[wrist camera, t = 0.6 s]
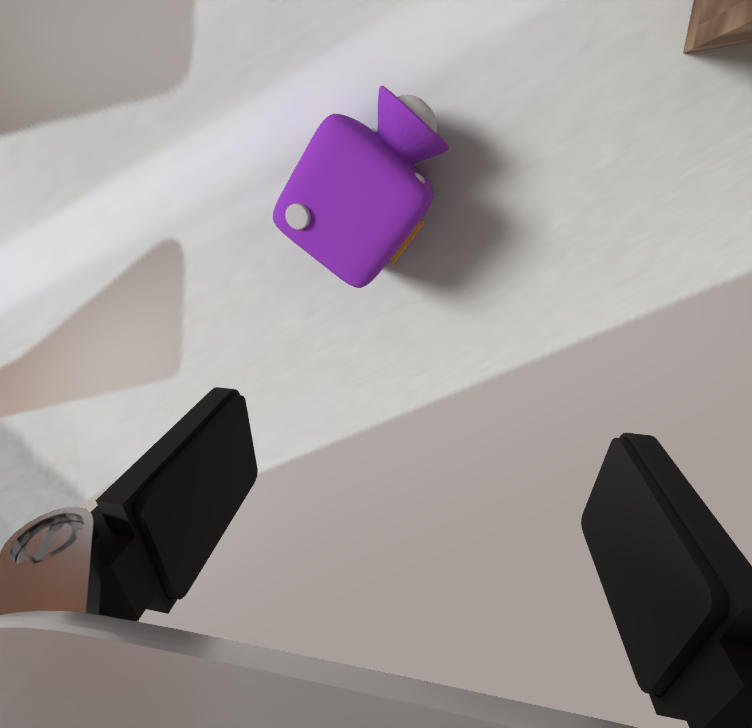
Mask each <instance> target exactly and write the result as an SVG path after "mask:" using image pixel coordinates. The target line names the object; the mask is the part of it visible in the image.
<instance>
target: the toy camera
mask: <svg viewBox="0 0 752 728" xmlns="http://www.w3.org/2000/svg"><path fill="white" fill-rule="evenodd" d="M448 149H449V146H448V145H447V144H446V142H445V141H444V140H443V139H442V138H440V137H439V136H438V135H437V122H436V118H435V115H434V113H433V112H432V110H431V108H430V107H429V106H428V105H427V104H426V103H425V102H424V101H423V100H421V99H419V98H417V97H415V96H412V95H402V96H399V97H396V96H395V95H394V94H393V93H392V92H390V91H389V90H388V89H387V88H385V87H384V86H380V89H379V96H378V132H377V134H376V133H375V132H373V131H372V130H371V129H370V128H368V127H367V126H365V125H364V124H362V123H361V122H359V121H357V120H355V119H353V118H350V117H348V116H345V115H341V114H332V115H330V116H328V117H327V118H326V119H325V120H324V121H323V122H322V123H321V124H320V126H319V127H318V129H317V131H316V132H315V134H314V136H313V137H312V139H311V141H310V143H309V145H308V146H307V148H306V150H305V152H304V154H303V155H302V157H301V159H300V161H299V162H298V164H297V166H296V168H295V170H294V171H293V173H292V175H291V177H290V179H289V180H288V182H287V184H286V186H285V188H284V190H283V192H282V194H281V195H280V197H279V199H278V201H277V203H276V206H275V209H274V212H273V220H274V223H275V224H276V226H277V227H278V228H279V229H280V231H282V232H283V233H284V234H285V235H286V236H287V237H288V238H290V239H291V240H292V241H293V242H294V243H296V244H297V245H298V246H300V247H301V248H302V249H303V250H305V251H306V252H307V253H308V254H310V255H311V256H312V257H313V258H315V259H316V260H317V261H319V262H320V263H321V264H322V265H324V266H325V267H326V268H327V269H329V270H330V271H331V272H332V273H334V274H335V275H336V276H338V277H339V278H340V279H342V280H343V281H344V282H346V283H347V284H349V285H351V286H353V287H357V288H361V287H364V286H366V285H367V284H369V283H370V282H371V281H372V280H373V279H374V278H375V277H376V276H377V275H378V274H379V273H380V271H381V270H382V269H383V268H384V266H385V265H386V264H387V263H388V261H389V260H390V261H391V262H392V263H395V262H396V261H397V259H398V258H399V257H400V255H401V254H402V253H403V251H404V250H405V249H406V247H407V246H408V245H409V243H410V242H411V241H412V240H413V238H414V237H415V236H416V234H417V233H418V232H419V230H420V229H421V228H422V226H423V225H424V223H425V222H424V221H423V220H422V219H421V218H422V217H423V216H424V214H425V213H426V211H427V209H428V207H429V205H430V203H431V201H432V198H433V189H432V186H431V184H430V183H429V181H428V180H427V179H426V178H425V177H424V176H423V175H422V174H421V173H420V172H419V171H418V170H417V169H416V168H414V167H413V166H412V164H414V163H416V162H418V161H421V160H424V159H427V158H430V157H433V156H436V155H438V154H441V153H443V152H445V151H447V150H448Z"/></svg>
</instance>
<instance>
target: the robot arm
mask: <svg viewBox="0 0 752 728" xmlns="http://www.w3.org/2000/svg"><path fill="white" fill-rule="evenodd" d="M256 478H257V464H256V458H255V452H254V447H253V441H252V435H251V430H250V424H249V418H248V412H247V407H246V401H245V398H244V396H242V395H240V393H239V392H238V390H236V389H227V388H218V387H217V388H214V389H212V390H211V391H210V392H209V393H208V394H207V395H206V396H205V397H204V398H203V399H202V400H200V401H199V402H198V403H197V404H196V405H195V406H194V407H193V408H192V409H191V410H190V411H189V412H188V413H187V414H186V415H185V416H184V417H183V418H182V419H181V420H179V421H178V422H177V423H176V424H175V425H174V426H173V427H172V428H171V429H170V430H169V431H168V432H167V433H166V434H165V435H164V436H163V437H162V438H161V439H160V440H159V441H157V442H156V443H155V444H154V445H153V446H152V447H151V448H150V449H149V450H148V451H147V452H146V453H145V454H144V455H143V456H142V457H141V458H140V459H139V460H138V461H136V462H135V463H134V464H133V465H132V466H131V467H130V468H129V469H128V470H127V471H126V472H125V473H124V474H123V475H122V476H121V477H120V478H119V479H118V480H117V481H116V482H114V483H113V484H112V485H111V486H110V487H109V488H108V489H107V490H106V491H105V492H104V493H103V494H102V495H101V496H100V497H99V498H98V499H97V500H96V502H97V504H98V506H97V507H96V508H95V509H94V510H93V511H92V512H89V511H88V510H87V509H83V508H80V507H66V508H62V509H58V510H54V511H51V512H49V513H46V514H44V515H41V516H39V517H37V518H36V519H34V520H32V521H30V522H29V523H27V524H25V525H24V526H23V527H22V528H20V529H19V530H18V531H16V532H15V533H14V534H13V535H12V536H11V537H10V538H9V539H8V541H7V542H6V543H5V544H4V546H3V548H2V550H1V552H0V728H636V727H633V726H628V725H624V724H620V723H616V722H611V721H607V720H602V719H597V718H593V717H588V716H584V715H579V714H575V713H570V712H565V711H561V710H556V709H551V708H547V707H542V706H537V705H533V704H528V703H524V702H520V701H515V700H510V699H506V698H501V697H497V696H492V695H487V694H483V693H478V692H474V691H468V690H464V689H459V688H455V687H450V686H446V685H441V684H436V683H431V682H427V681H422V680H418V679H413V678H408V677H403V676H399V675H394V674H389V673H385V672H380V671H375V670H370V669H365V668H360V667H356V666H352V665H347V664H342V663H337V662H332V661H328V660H323V659H318V658H313V657H309V656H304V655H300V654H295V653H289V652H285V651H280V650H275V649H270V648H265V647H261V646H256V645H251V644H246V643H241V642H237V641H232V640H227V639H222V638H217V637H212V636H208V635H202V634H198V633H193V632H188V631H183V630H178V629H173V628H168V627H162V626H157V625H152V624H146V623H140V622H139V618H140V617H141V615H142V614H143V613H144V611H145V610H146V609H149V610H154V611H159V612H163V613H169V612H170V610H171V608H172V607H173V605H174V604H175V602H176V601H177V599H182V598H183V597H184V596H185V595H186V594H187V592H188V591H189V589H190V587H191V586H192V584H193V582H194V581H195V579H196V578H197V576H198V575H199V573H200V571H201V569H202V568H203V566H204V565H205V563H206V561H207V560H208V558H209V557H210V555H211V553H212V551H213V550H214V548H215V547H216V545H217V543H218V542H219V540H220V539H221V537H222V535H223V534H224V532H225V530H226V529H227V527H228V525H229V524H230V522H231V520H232V519H233V517H234V515H235V514H236V512H237V511H238V509H239V507H240V506H241V504H242V502H243V501H244V499H245V498H246V496H247V494H248V493H249V491H250V489H251V487H252V486H253V484H254V483H255V481H256ZM581 524H582V530H583V533H584V536H585V539H586V542H587V545H588V547H589V550H590V553H591V556H592V559H593V561H594V564H595V567H596V570H597V572H598V575H599V578H600V581H601V583H602V586H603V589H604V592H605V595H606V597H607V600H608V603H609V605H610V608H611V611H612V614H613V616H614V619H615V622H616V625H617V628H618V631H619V633H620V636H621V639H622V641H623V644H624V647H625V650H626V653H627V655H628V658H629V661H630V664H631V666H632V669H633V672H634V675H635V678H636V680H637V683H638V685H639V687H640V688H641V690H642V691H643V692H645V693H649V695H650V698H651V701H652V703H653V706H654V709H655V711H656V714H657V715H661V716H666V717H671V718H676V719H680V720H685V721H687V723H688V725H689V727H690V728H752V566H751V565H750V563H749V562H748V561H747V559H746V558H745V557H744V555H743V554H742V553H741V551H740V550H739V549H738V547H737V546H736V545H735V543H734V542H733V541H732V540H731V538H730V537H729V535H728V534H727V533H726V531H725V530H724V529H723V527H722V526H721V525H720V523H719V522H718V521H717V519H716V518H715V516H714V515H713V514H712V512H711V511H710V510H709V509H708V507H707V506H706V505H705V503H704V502H703V500H702V499H701V498H700V496H699V495H698V494H697V493H696V491H695V490H694V488H693V487H692V486H691V485H690V483H689V482H688V480H687V479H686V478H685V476H684V475H683V474H682V473H681V471H680V470H679V468H678V467H677V466H676V464H675V463H674V462H673V460H672V459H671V458H670V456H669V455H668V454H667V452H666V451H665V450H664V448H663V447H662V446H661V444H660V443H659V442H658V440H657V439H656V438H655V437H653V436H650V435H642V434H633V433H623V434H622V435H621V436H620V438H614V439H613V440H612V441H611V444H610V446H609V449H608V451H607V454H606V456H605V459H604V462H603V464H602V467H601V469H600V471H599V474H598V477H597V479H596V482H595V484H594V487H593V489H592V492H591V494H590V497H589V500H588V502H587V504H586V507H585V509H584V512H583V515H582V521H581Z"/></svg>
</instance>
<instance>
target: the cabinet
mask: <svg viewBox="0 0 752 728" xmlns="http://www.w3.org/2000/svg"><path fill="white" fill-rule="evenodd" d="M748 42H752V0H694V3H693V8H692V13H691V18H690V23H689V28H688V33H687V38H686V43H685V48H684V53H687V52H693V51H699V50H705V49H711V48H718V47H724V46H730V45H736V44H742V43H748Z"/></svg>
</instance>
